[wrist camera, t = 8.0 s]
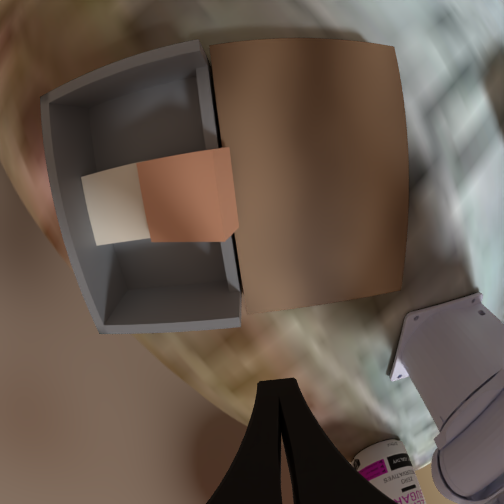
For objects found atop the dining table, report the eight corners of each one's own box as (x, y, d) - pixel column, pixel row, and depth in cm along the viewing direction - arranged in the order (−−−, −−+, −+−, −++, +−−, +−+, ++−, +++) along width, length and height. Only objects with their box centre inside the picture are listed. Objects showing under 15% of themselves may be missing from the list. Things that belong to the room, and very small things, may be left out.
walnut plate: (379, 54, 12) (394, 46, 10) (388, 276, 18) (400, 290, 16) (213, 56, 12) (209, 45, 11) (246, 297, 18) (247, 314, 16)
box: (211, 66, 13) (198, 39, 8) (241, 283, 18) (240, 326, 13) (83, 102, 13) (40, 96, 9) (125, 295, 18) (99, 333, 14)
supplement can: (349, 467, 31) (367, 542, 17) (350, 449, 28) (373, 540, 14) (397, 451, 30) (421, 521, 16) (405, 430, 27) (438, 513, 13)
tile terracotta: (229, 146, 12) (212, 149, 11) (239, 227, 14) (225, 241, 12) (159, 158, 13) (136, 163, 12) (171, 229, 15) (151, 242, 13)
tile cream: (157, 158, 14) (144, 160, 12) (168, 225, 16) (159, 236, 14) (97, 172, 14) (81, 177, 12) (111, 234, 16) (96, 245, 14)
